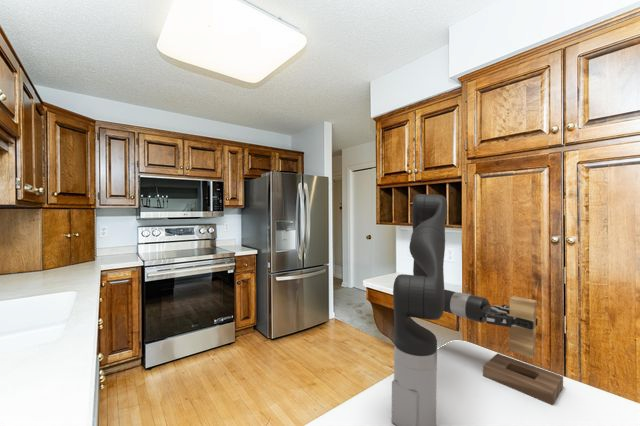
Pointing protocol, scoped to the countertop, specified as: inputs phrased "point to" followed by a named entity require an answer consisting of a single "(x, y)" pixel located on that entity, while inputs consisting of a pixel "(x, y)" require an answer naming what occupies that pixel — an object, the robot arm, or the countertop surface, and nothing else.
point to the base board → (524, 378)
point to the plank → (522, 337)
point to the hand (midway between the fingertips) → (535, 323)
